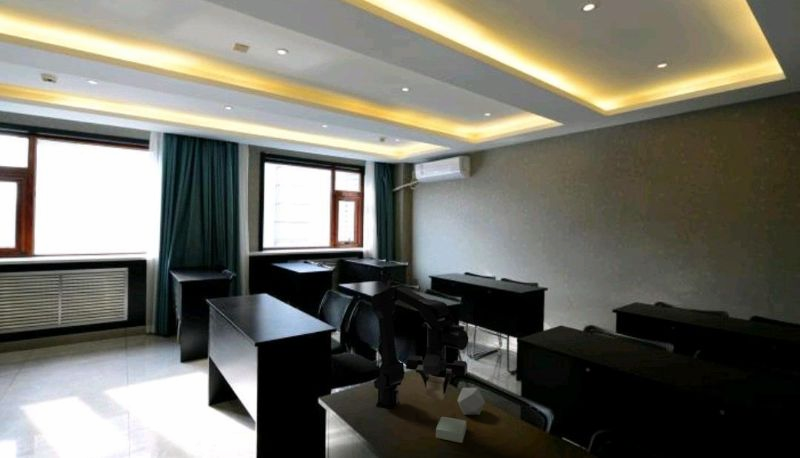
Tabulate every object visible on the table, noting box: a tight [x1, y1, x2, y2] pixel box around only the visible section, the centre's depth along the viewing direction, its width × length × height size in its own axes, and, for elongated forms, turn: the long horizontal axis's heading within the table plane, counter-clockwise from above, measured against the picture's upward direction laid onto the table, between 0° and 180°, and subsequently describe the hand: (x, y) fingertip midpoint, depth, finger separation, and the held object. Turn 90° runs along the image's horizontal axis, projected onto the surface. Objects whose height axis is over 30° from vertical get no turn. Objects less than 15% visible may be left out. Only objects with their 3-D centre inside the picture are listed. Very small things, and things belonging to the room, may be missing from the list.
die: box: [457, 387, 486, 416], centre depth 129 cm, size 8×9×10 cm
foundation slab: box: [435, 416, 467, 444], centre depth 116 cm, size 8×8×3 cm
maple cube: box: [425, 375, 447, 401], centre depth 118 cm, size 5×5×5 cm
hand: (436, 392), depth 118 cm, fingers closed on maple cube, 5 cm apart
